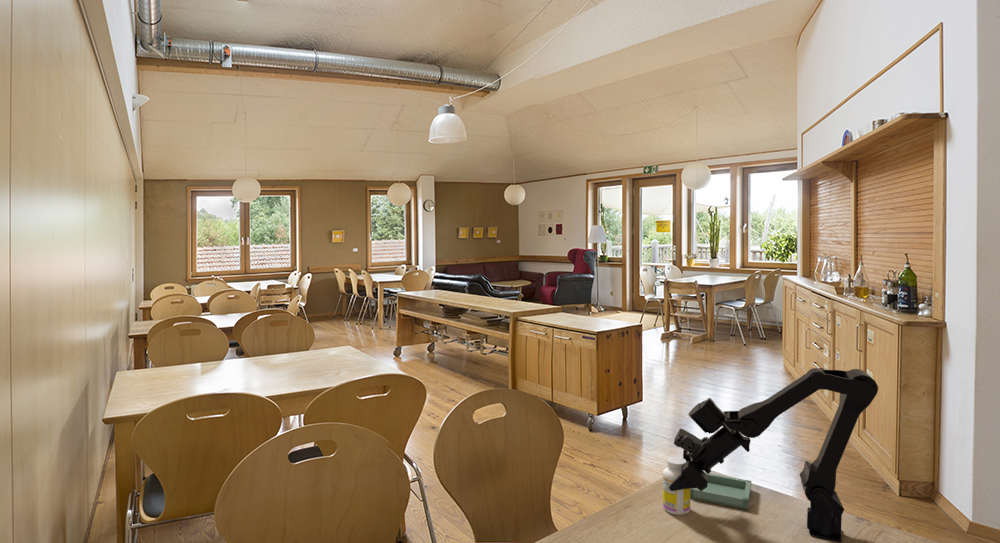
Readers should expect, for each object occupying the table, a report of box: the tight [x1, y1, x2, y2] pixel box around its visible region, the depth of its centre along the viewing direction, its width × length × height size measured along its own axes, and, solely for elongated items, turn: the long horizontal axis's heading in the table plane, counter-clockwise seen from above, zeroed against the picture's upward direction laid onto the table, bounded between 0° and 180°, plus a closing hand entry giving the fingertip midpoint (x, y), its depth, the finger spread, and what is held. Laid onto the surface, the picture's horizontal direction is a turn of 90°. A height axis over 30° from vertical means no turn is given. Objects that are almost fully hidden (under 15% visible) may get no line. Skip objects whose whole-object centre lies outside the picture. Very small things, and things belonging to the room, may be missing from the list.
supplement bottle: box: [662, 456, 691, 516], centre depth 145 cm, size 7×7×13 cm
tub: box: [690, 472, 752, 511], centre depth 153 cm, size 14×12×2 cm
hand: (670, 483), depth 145 cm, fingers closed on supplement bottle, 6 cm apart
